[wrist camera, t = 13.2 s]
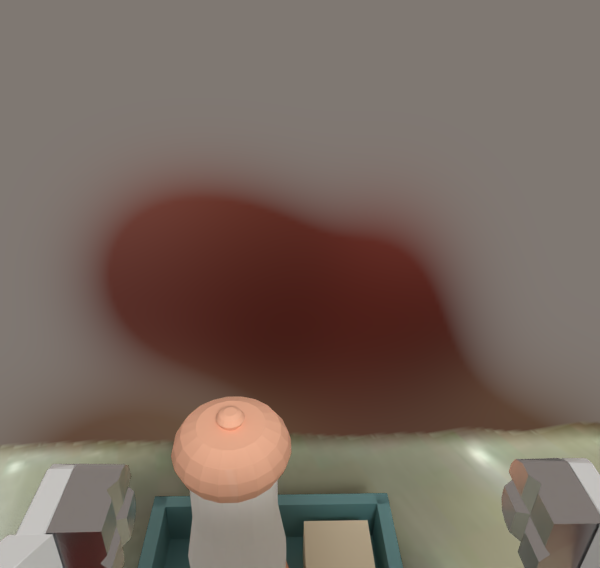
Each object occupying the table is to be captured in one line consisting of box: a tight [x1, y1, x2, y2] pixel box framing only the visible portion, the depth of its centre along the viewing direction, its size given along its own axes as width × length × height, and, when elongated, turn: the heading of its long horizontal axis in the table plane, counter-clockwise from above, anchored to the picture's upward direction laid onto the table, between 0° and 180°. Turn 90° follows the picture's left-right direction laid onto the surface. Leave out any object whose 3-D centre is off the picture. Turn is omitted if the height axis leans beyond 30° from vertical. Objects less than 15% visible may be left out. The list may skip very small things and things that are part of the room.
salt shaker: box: [171, 397, 291, 568], centre depth 35 cm, size 7×7×19 cm
